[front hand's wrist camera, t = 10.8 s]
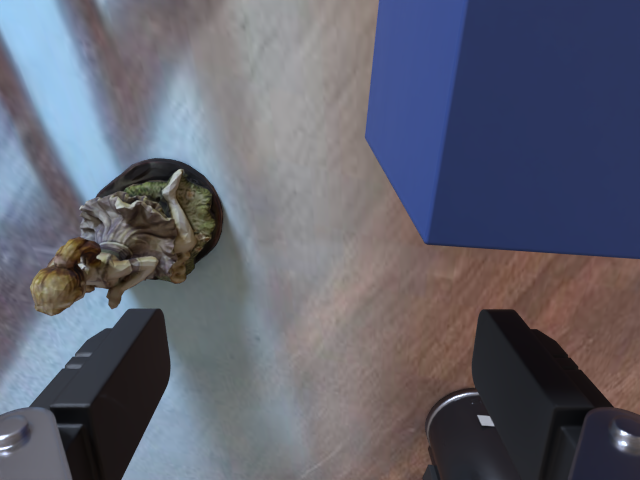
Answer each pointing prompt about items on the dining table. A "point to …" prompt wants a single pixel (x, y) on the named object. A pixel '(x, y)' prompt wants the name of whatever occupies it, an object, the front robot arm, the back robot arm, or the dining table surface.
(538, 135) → the box
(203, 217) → the figurine
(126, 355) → the front robot arm
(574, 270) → the dining table surface
